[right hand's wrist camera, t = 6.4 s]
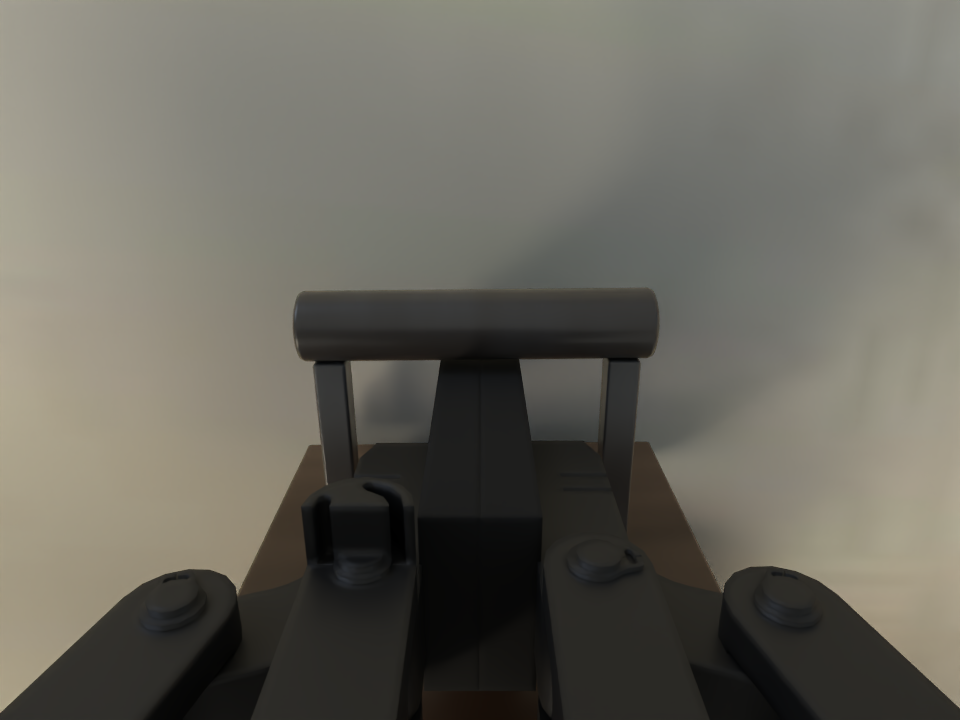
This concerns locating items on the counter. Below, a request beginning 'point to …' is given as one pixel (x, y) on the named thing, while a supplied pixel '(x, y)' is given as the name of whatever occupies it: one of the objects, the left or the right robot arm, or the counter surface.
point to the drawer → (484, 336)
